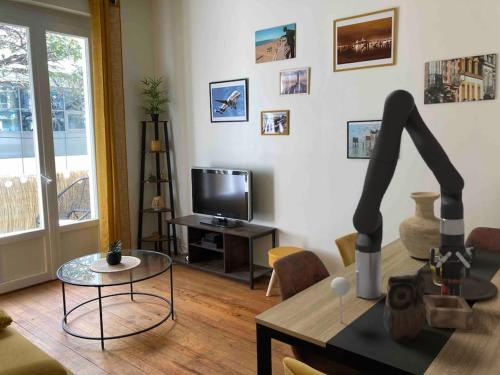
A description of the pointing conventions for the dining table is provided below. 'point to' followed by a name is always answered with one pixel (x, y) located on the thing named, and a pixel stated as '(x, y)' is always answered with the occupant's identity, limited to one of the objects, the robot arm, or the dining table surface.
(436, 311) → the socket block
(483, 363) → the dining table surface
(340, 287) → the lollipop
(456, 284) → the deodorant
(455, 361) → the dining table surface
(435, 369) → the dining table surface
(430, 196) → the vase
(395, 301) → the owl
